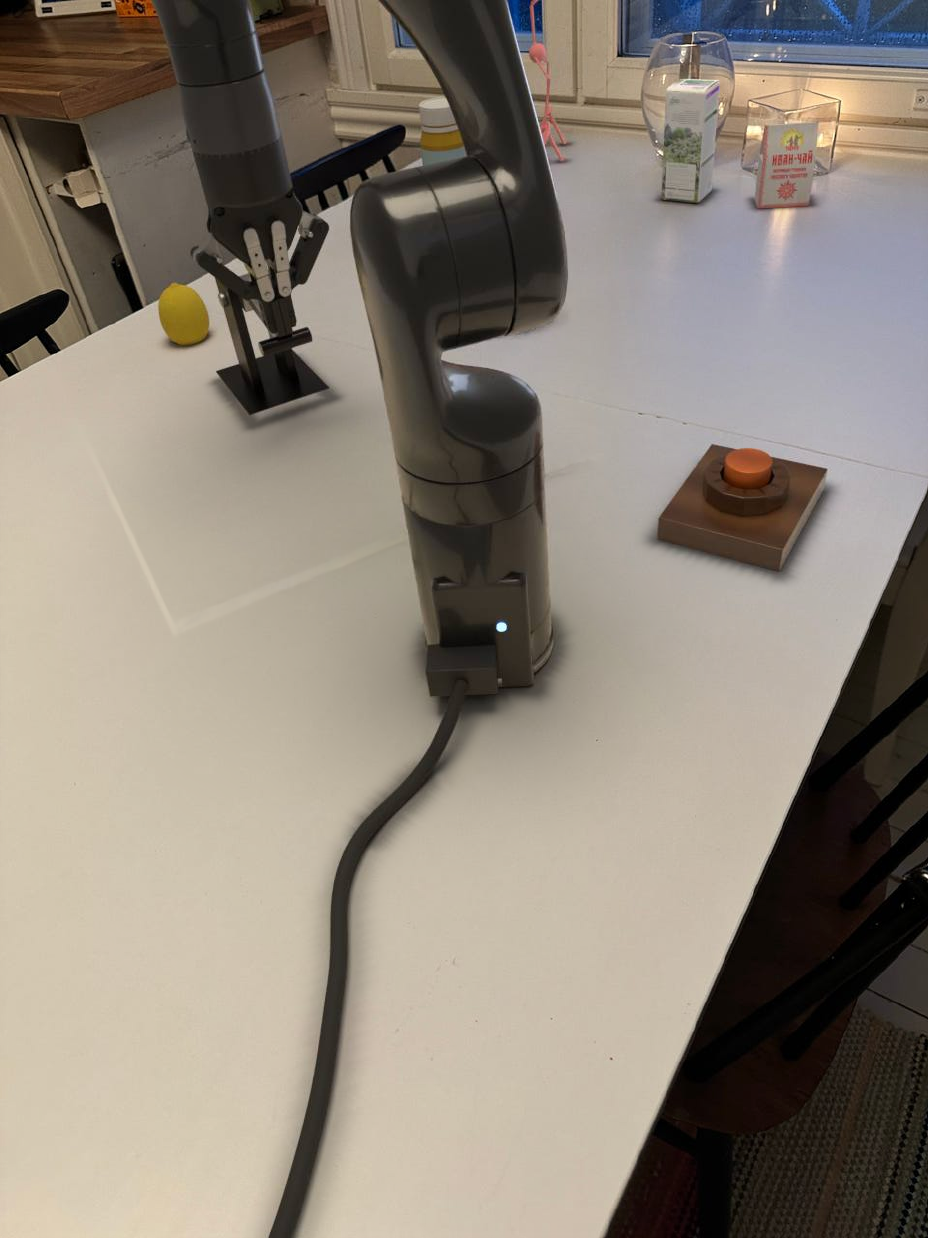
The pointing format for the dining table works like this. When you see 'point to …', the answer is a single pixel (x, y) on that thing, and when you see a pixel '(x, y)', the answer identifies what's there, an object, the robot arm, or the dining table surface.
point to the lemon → (183, 315)
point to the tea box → (786, 165)
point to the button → (747, 468)
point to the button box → (742, 511)
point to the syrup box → (689, 139)
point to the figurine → (537, 56)
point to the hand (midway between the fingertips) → (283, 332)
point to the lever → (274, 343)
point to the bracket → (262, 366)
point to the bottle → (439, 132)
